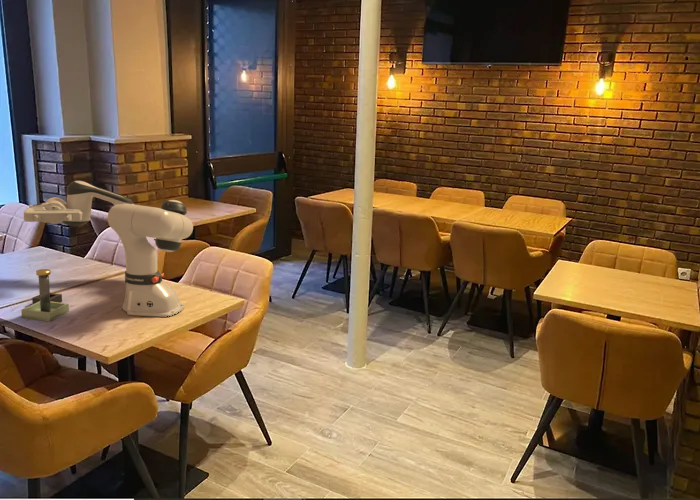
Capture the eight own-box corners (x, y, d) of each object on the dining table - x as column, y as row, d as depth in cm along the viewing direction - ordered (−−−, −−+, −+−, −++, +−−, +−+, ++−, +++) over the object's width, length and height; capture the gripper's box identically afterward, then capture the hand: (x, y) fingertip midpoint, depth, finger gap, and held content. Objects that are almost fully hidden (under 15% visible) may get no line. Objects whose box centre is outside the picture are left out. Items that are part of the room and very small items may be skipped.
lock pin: (55, 310, 205) (53, 269, 201) (47, 314, 201) (44, 273, 197) (44, 309, 206) (41, 268, 202) (35, 313, 201) (33, 271, 198)
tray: (68, 311, 208) (68, 303, 207) (49, 321, 198) (49, 313, 197) (42, 308, 209) (41, 300, 208) (21, 317, 199) (21, 309, 198)
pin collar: (62, 301, 217) (61, 294, 216) (50, 307, 210) (49, 300, 209) (45, 299, 218) (44, 292, 217) (32, 305, 211) (32, 297, 210)
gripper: (83, 219, 235) (83, 226, 223) (26, 220, 227) (23, 228, 215) (82, 204, 234) (82, 211, 222) (25, 205, 225) (21, 211, 213)
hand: (52, 219), depth 218 cm, fingers open, 8 cm apart
